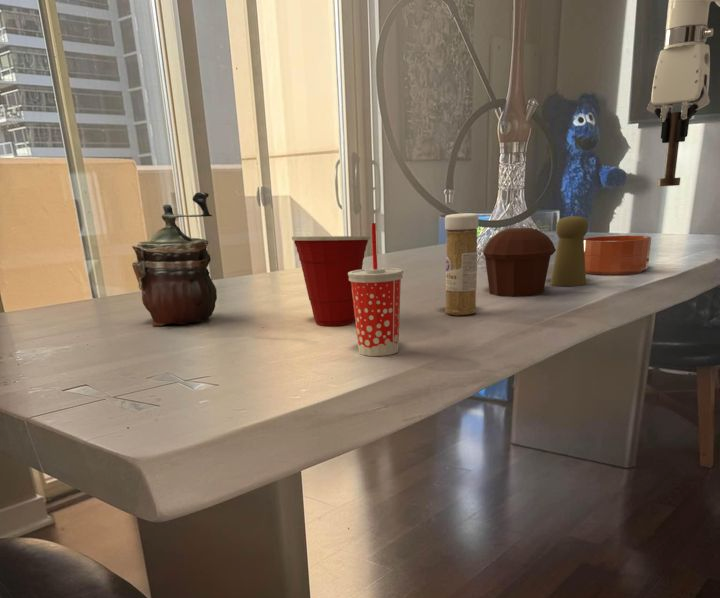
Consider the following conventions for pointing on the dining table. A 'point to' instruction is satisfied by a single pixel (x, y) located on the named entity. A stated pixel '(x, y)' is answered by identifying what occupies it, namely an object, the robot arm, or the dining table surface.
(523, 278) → the muffin
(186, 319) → the coffee grinder
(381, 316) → the beverage cup
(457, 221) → the sprinkles bottle
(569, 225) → the cork
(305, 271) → the plastic cup
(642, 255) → the bowl
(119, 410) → the dining table surface
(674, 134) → the muddler
